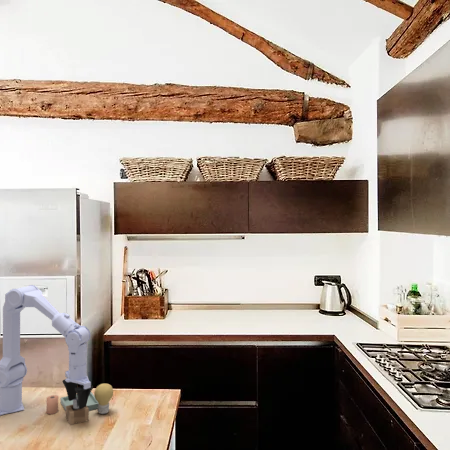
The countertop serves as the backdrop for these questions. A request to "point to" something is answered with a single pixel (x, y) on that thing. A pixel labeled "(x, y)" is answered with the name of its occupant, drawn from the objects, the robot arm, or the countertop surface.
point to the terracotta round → (52, 404)
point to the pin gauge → (75, 404)
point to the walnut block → (77, 414)
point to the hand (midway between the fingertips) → (77, 403)
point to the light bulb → (103, 397)
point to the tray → (90, 404)
